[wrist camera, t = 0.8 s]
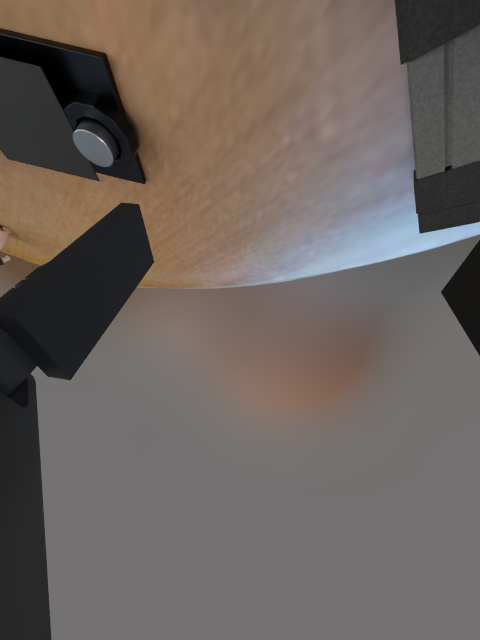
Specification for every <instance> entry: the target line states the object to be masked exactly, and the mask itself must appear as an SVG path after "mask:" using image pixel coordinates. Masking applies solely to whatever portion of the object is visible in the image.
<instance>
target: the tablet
mask: <svg viewBox="0 0 480 640" xmlns="http://www.w3.org/2000/svg"><path fill="white" fill-rule="evenodd" d="M0 57H3V58H7V59H11V60H15V61H20V62H24V63H28V64H32V65H36V66H40V67H41V68H42V70H43V72H44V74H45V76H46V78H47V80H48V82H49V84H50V86H51V88H52V90H53V92H54V94H55V95H56V97H57V99H58V101H59V103H60V105H61V107H62V109H63V111H64V113H65V115H66V117H67V119H68V121H69V122H70V124H71V126H72V128H73V130H74V131H75V130H76V128H77V127H78V125H79V124H80V123H81V121H82V120H83V119H86V118H91V119H95V120H97V121H99V122H100V123H102V124H103V125H105V126H106V127H107V128H109V130H110V131H111V132H112V133H113V135H114V136H115V137H116V139H117V141H118V143H119V148H120V150H119V153H118V155H117V157H116V159H115V160H114V162H113V164H112V165H111V166H109V167H102V166H99V165H96V164H94V163H92V162H91V161H90V163H91V165H92V167H93V169H94V171H95V172H96V173H101V174H105V175H109V176H113V177H117V178H121V179H125V180H129V181H134V182H138V183H142V184H145V182H146V178H145V175H144V172H143V169H142V166H141V163H140V160H139V156H138V153H137V150H138V147H139V144H138V141H137V138H136V134H135V131H134V128H133V127H132V125H131V124H130V123H129V121H128V120H127V119H126V116H125V112H124V109H123V106H122V103H121V100H120V97H119V94H118V90H117V87H116V84H115V81H114V78H113V75H112V72H111V68H110V65H109V62H108V59H107V56H106V54H105V53H100V52H96V51H92V50H88V49H84V48H79V47H75V46H71V45H67V44H62V43H58V42H54V41H50V40H46V39H41V38H37V37H33V36H29V35H24V34H20V33H16V32H12V31H8V30H3V29H0Z"/></svg>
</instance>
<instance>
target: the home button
mask: <svg viewBox="0 0 480 640" xmlns="http://www.w3.org/2000/svg"><path fill="white" fill-rule="evenodd" d="M73 141H74V143H75V145H76V147H77V148H78V150H79V151H80V152H81V153H82V155H83V156H85V157H86V158H87V159H88V160H89V161H91V162H92V163H94V164H96V165H99V166H102V167H109V166H111V165H112V164H113V162H114V160H115V159H116V157H117V155H118V153H119V150H120V148H119V143H118V141H117V139H116V137H115V136H114V135H113V133H112V132H111V131H110V130H109V128H107V127H106V126H105V125H103V124H102V123H100V122H99V121H97V120H95V119H91V118H86V119H83V120H82V121H81V123H80V124H79V125H78V127H77V128H76V130H75V131H74V133H73Z"/></svg>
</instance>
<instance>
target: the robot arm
mask: <svg viewBox="0 0 480 640" xmlns="http://www.w3.org/2000/svg"><path fill="white" fill-rule="evenodd" d="M153 263H154V260H153V256H152V252H151V248H150V244H149V240H148V237H147V233H146V229H145V225H144V221H143V218H142V214H141V210H140V206H139V204H130V203H121V204H119V205H118V206H117V207H116V208H114V209H113V210H112V211H111V212H110V213H108V214H107V215H106V216H105V217H103V218H102V219H101V220H100V221H99V222H97V223H96V224H95V225H94V226H92V227H91V228H90V229H89V230H88V231H86V232H85V233H84V234H83V235H81V236H80V237H79V238H78V239H76V240H75V241H74V242H73V243H72V244H70V245H69V246H68V247H67V248H65V249H64V250H63V251H62V252H61V253H59V254H58V255H57V256H56V257H54V258H53V259H52V260H51V261H50V262H48V263H46V264H44V265H42V266H40V267H38V268H37V269H35V270H34V271H33V272H32V273H30V274H29V275H28V276H27V277H25V280H22V281H20V282H19V283H18V284H17V285H15V288H12V289H10V290H9V291H8V292H7V293H6V294H4V295H3V296H2V297H0V640H51V627H50V611H49V595H48V578H47V561H46V545H45V531H44V530H45V528H44V513H43V495H42V481H41V462H40V446H39V429H38V413H37V399H36V398H37V397H36V382H35V379H34V377H33V376H32V375H31V374H30V373H31V372H32V371H33V370H34V369H35V367H36V366H38V367H39V368H40V369H41V370H42V371H43V372H44V373H45V374H46V375H47V376H48V377H54V378H61V379H66V380H71V379H72V377H73V376H74V374H75V373H76V372H77V370H78V369H79V367H80V366H81V364H82V363H83V362H84V360H85V359H86V358H87V356H88V355H89V353H90V352H91V350H92V349H93V348H94V346H95V345H96V343H97V342H98V340H99V339H100V338H101V336H102V335H103V334H104V332H105V331H106V329H107V328H108V326H109V325H110V324H111V322H112V321H113V319H114V318H115V317H116V315H117V314H118V312H119V311H120V309H121V308H122V307H123V305H124V304H125V302H126V301H127V300H128V298H129V297H130V295H131V294H132V293H133V291H134V290H135V288H136V287H137V285H138V284H139V283H140V281H141V280H142V278H143V277H144V276H145V274H146V273H147V271H148V270H149V269H150V267H151V266H152V264H153ZM441 293H442V295H443V296H444V298H445V299H446V301H447V303H448V304H449V306H450V308H451V309H452V311H453V313H454V314H455V316H456V317H457V319H458V321H459V323H460V324H461V326H462V327H463V329H464V331H465V332H466V334H467V336H468V337H469V339H470V341H471V342H472V344H473V346H474V347H475V349H476V350H477V352H478V354H479V355H480V240H479V242H478V243H477V244H476V246H475V247H474V248H473V250H472V251H471V253H470V254H469V255H468V256H467V258H466V259H465V261H464V262H463V263H462V265H461V266H460V267H459V269H458V270H457V271H456V273H455V274H454V275H453V277H452V278H451V279H450V281H449V282H448V283H447V285H446V286H445V287H444V289H443V290H442V291H441Z"/></svg>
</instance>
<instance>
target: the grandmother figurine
mask: <svg viewBox="0 0 480 640" xmlns="http://www.w3.org/2000/svg"><path fill="white" fill-rule="evenodd" d="M11 234H12V232H11V230H10V229H8V228H6V227H2V228H1V230H0V250H1V248H2V247H3V246H4V244H5V243H6V241H7V239H8V237H9V235H11ZM10 259H11V258H10V257H9V256H5V257H4V258H0V265H3V264H4V263H5V262H7V261H9V260H10Z"/></svg>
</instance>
